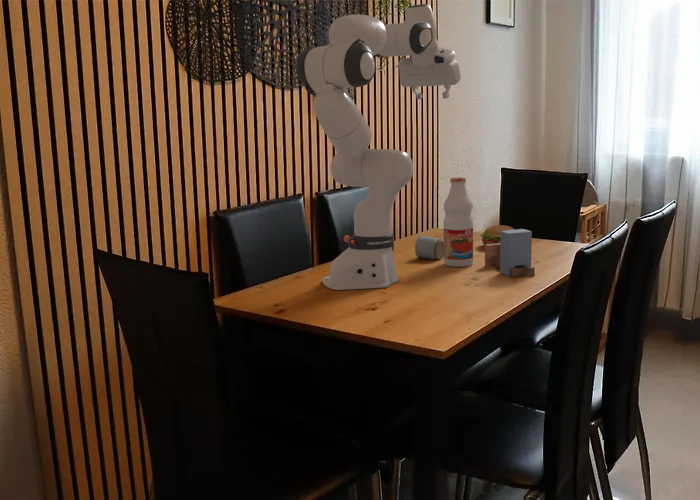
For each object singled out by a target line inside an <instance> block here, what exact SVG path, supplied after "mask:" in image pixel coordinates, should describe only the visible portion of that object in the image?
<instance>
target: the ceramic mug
mask: <svg viewBox="0 0 700 500" xmlns="http://www.w3.org/2000/svg"><path fill="white" fill-rule="evenodd" d="M414 253H415V255H416V258H419V259H427V260H435V261H436V260H440V259H441V258H442V257H444V240H443V239H440V238H438V237H431V236H426V235H420V236H418V237H417V239H416V241H415V244H414Z"/></svg>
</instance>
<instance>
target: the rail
mask: <svg viewBox="0 0 700 500" xmlns="http://www.w3.org/2000/svg"><path fill="white" fill-rule="evenodd" d="M500 244H501V243H494V244H485V247H484V267H486V268H496V269H498V270H500ZM535 269H536V268H535V266H531V267H524V266H521V265H520V266H515V267H514V269H511V276H510V278H513V279H520V278H525V277H527V278H529V277H534V276H535V271H536V270H535Z"/></svg>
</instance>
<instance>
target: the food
mask: <svg viewBox="0 0 700 500" xmlns="http://www.w3.org/2000/svg"><path fill="white" fill-rule="evenodd" d="M506 230H515V229H514V228H513V227H512V226H509V225H503V224H497V225H496V224H495V225H492V226H489V227H487V228H485V229H484V231H483V232H482V233H481V234H480V237H481V242H482V244H483V245H482V246H483V248H485V244H494V243H501V231H506Z"/></svg>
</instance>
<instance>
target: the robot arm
mask: <svg viewBox="0 0 700 500" xmlns="http://www.w3.org/2000/svg"><path fill="white" fill-rule="evenodd" d="M435 19H436V18H435V16H434V13H433V9H432V8H431V6H430V5H429V4H427V3H426V4H425V3H423V4H415V5H409V6H407V7H406V10H405V19H404V21H403V22H401V23H399V22H398V23H388V24H387V23H383V22H382V21H381V20H380V19H378V18H376V17H374V16H371V15H368V14H367V15H366V14H348V15H343V16H340V17H337V18H336V19H334V21H333V22H332V23H331V24H330V27H329V30H328V41H329V43H330V44H329V45H328V44H327V45H321V46H317V47H316V46H311V47H309V48H306V49H304V50H302V51H301V52H300V53H299V54H298V56H297V58H296V62H295V71H296V75H297V77H298V79H299V82H301V85H302V86H303V87H304V88H305V91H306V92H307V93H308V94H310V95H311V96H315V97H314V99H313V105H312V106H313V111H314V114H315V116H316V118H317V121H318V124H319V126H320V127H321V129H322V130H323V131H324V134H325V135H326V137H327V138H328V139H329V141H330V143H331V144H332V146H333V147H334V150H335V154H334V156H333V157H332V159H331V162H330V172H331V173H330V174H331V177H332V178H333V180H334V181H335V182H336V183H338V184H341V185H344V186H349V187H355V188H359V187H360V188H368V192H367V193H368V194H367V197H366V198H365V199H364V200H362V201H360V202H358V204H357V205H356V206H355V207H354V210H353V226H354V227H353V229H354V230H353V231H354V234H353V235H351V236H350V235H348V234H346V235H344V237H343V241H344V242H345V243H346V244H347V243H348V247H347V248H346V249H345V250H344V251H342V253H340V254H339V255H338V256H337V257H336V258H335V259H333V260H332V261H331V264H330V270H329V276H325V277H323V278H322V284H323V285H324V286H325V287H326V288H327V289H331V290H334V291H342V290H360V289H361V290H363V289H379V288H381V289H383V288H388V287H389V286H391V285H393V284H395V283H397V282H398V281H399V276H398V274H397V269H396V264H395V259H394V250H395V249H394V248H395V238H394V233H393V231H392V230H393V229H392V228H393V227H392V226H393V223H392V222H393V208H394V207H393V206H394V204H395V200H396V197H397V196H398V194H399V193H400V191H401V190H402V189H403V187H405V186H406V185H407V184H408V183H409V182H410V181H411V179H412V177H413V174H414V164H413V160H412V158H411V156H410V155H409V154H408V153H407V152H406V151H401V150H399V149H398V150H397V149H392V148H387V149H386V148H369V146H370V144H371V143H372V136H373V135H372V130H371V127H370V126H369V124H368V123H367V121H366V119H365V118H364V115H363V114H362V112H361V110H360V109H359V108H358V106H357V105H356V103H355V102H354V101H353V99H352V98H351V97H350V93H349V91H348V90H349V89H350V88H361V87H364V86H367V85H369V84H370V83H371V82H372V80H373V78H374V76H375V73H376V69H377V67H376V59H375V57H377V58H378V59H382V58H384V59H385V58H389V57H390V58H391V57H401V59H399V60H398V63H397V67H398V70H399V82H400V85H401V86H402V88H410V87H411V91H412V92H413V93H414V95H415V96H416V100H422V99H423V92H420V90H419V89H418V88H419V87H432V86H433V87H435V86H437V87H438V86H443V87H444V89H445V91H443V92H442V94H441V95H442V99H449V98H450V94H449V92H450V89H451V86H455V85H457V84H458V83H459V82H460V81H461V78H462V77H461V70H460V66H459V64H458V61H457V60H456V59H455V57H456V53H455V51H454V50H452V49H448V48H445V47H441V46H439V41H438V38H437V26H436V20H435ZM404 56H408V57H404ZM409 56H410V57H409Z"/></svg>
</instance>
